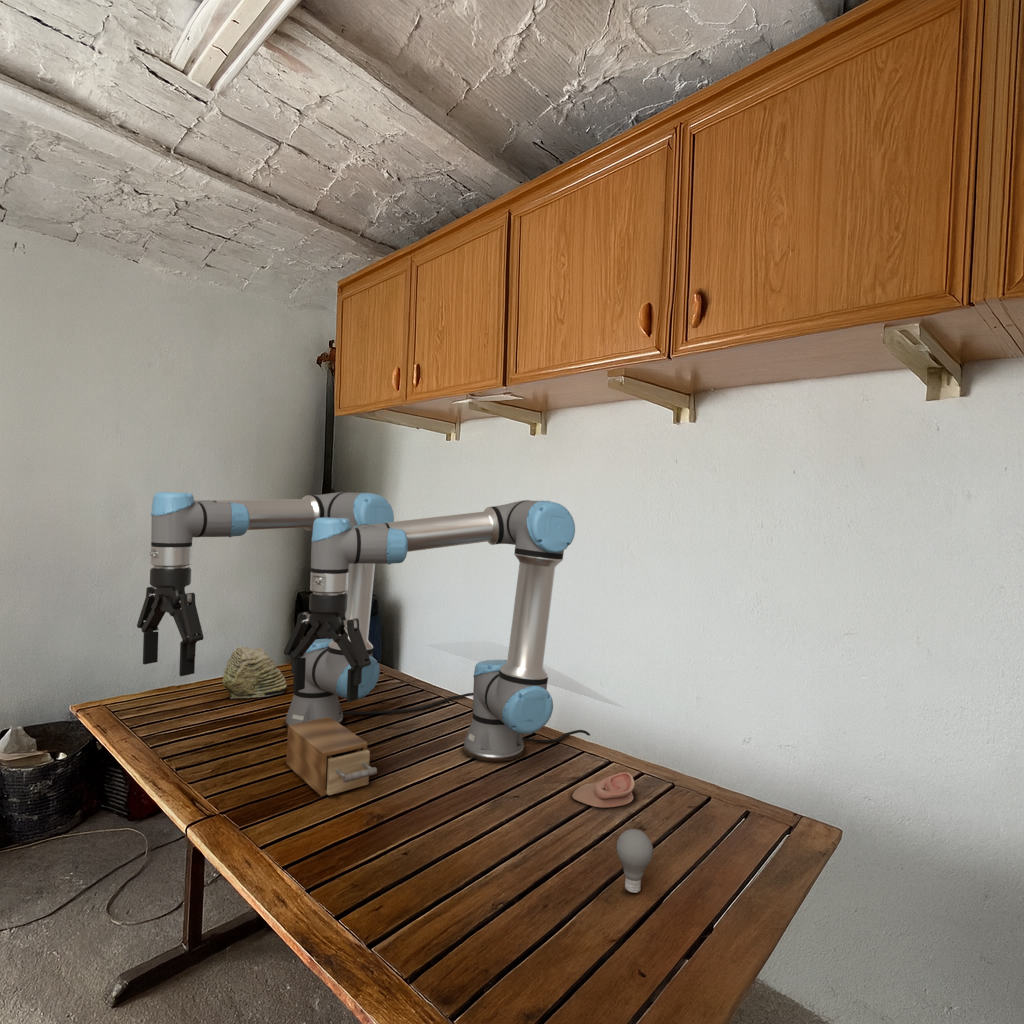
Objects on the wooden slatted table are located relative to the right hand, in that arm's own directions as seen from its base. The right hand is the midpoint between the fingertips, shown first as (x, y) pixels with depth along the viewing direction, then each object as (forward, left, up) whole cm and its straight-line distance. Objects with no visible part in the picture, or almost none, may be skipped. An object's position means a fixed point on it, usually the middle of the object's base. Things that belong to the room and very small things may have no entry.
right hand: (325, 695), depth 131 cm
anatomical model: (-58, +18, -22) cm, 64 cm away
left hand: (+30, -14, +4) cm, 33 cm away
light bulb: (-43, +48, -22) cm, 69 cm away
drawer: (-4, -8, -22) cm, 23 cm away
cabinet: (-3, -14, -22) cm, 27 cm away
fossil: (+9, -78, -22) cm, 82 cm away
